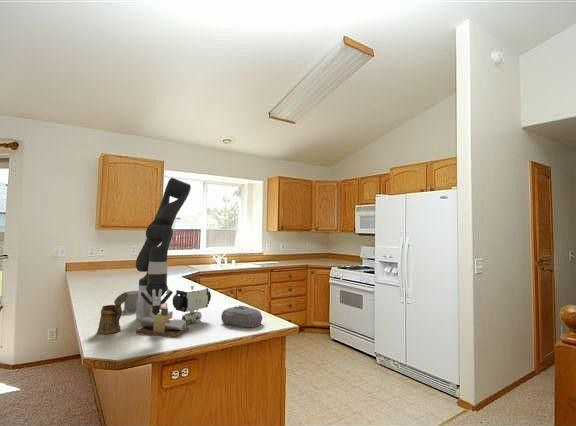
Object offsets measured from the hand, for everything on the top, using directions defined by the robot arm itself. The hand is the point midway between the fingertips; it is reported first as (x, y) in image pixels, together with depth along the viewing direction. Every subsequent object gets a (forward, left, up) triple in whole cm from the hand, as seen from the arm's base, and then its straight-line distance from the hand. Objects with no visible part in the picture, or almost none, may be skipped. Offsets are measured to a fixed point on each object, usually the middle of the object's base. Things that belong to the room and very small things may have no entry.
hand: (155, 314), depth 137 cm
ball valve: (+1, +28, -10) cm, 29 cm away
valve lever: (0, +5, 0) cm, 5 cm away
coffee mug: (-45, +44, -10) cm, 64 cm away
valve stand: (-3, +10, -10) cm, 14 cm away
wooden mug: (-24, +3, -10) cm, 26 cm away
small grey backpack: (+26, +32, -11) cm, 42 cm away
